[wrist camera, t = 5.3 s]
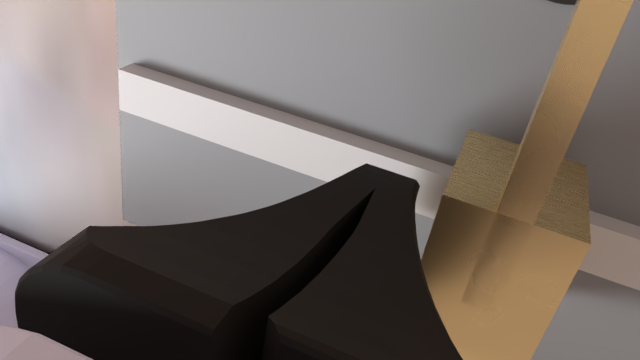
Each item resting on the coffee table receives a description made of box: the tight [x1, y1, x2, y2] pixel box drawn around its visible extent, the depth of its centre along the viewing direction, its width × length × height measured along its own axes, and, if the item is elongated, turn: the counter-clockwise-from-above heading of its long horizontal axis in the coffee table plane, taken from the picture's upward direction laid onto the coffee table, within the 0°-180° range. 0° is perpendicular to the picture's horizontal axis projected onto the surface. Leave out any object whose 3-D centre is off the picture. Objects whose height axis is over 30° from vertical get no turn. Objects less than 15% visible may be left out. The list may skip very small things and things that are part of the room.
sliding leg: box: [421, 0, 634, 360], centre depth 10 cm, size 2×8×3 cm, turn 171°
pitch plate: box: [116, 0, 640, 360], centre depth 11 cm, size 21×14×5 cm, turn 81°
